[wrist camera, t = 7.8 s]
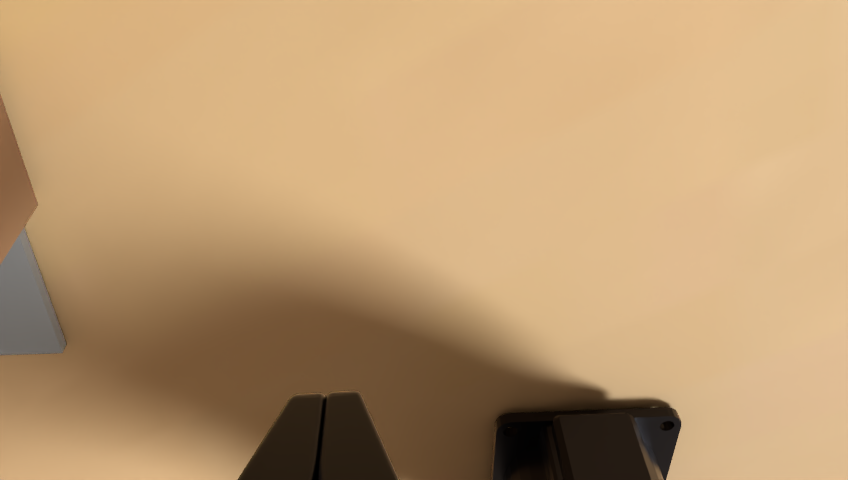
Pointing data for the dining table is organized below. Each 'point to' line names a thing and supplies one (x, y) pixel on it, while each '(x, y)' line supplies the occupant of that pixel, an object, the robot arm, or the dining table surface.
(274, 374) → the dining table surface
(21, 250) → the grey mat
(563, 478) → the robot arm
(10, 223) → the walnut block
